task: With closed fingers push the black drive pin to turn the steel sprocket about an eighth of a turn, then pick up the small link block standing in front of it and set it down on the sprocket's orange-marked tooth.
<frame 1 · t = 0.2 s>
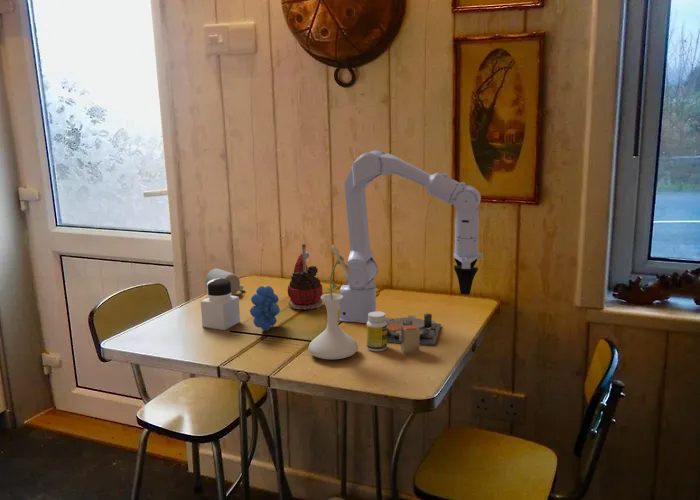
hand: (465, 289, 163), 10 cm above the table, tool pointing down, fingers open, 7 cm apart
grapes: (269, 331, 165), on the table
ceramic mug: (226, 294, 197), on the table
supplement bottle: (376, 348, 152), on the table
link block: (410, 352, 149), on the table
flower in vase: (334, 353, 150), on the table
medicine bottle: (221, 325, 170), on the table
cake: (305, 306, 184), on the table
sprocket: (407, 321, 161), point 3 cm above the table, hinge at 0.0°
base plate: (407, 333, 161), on the table
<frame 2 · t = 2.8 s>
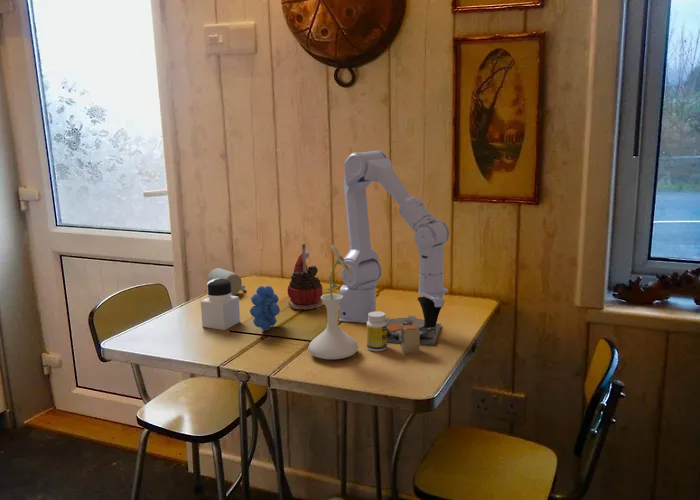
hand: (430, 326, 157), 3 cm above the table, tool pointing down, fingers closed, pressing on sprocket
sprocket: (407, 321, 161), point 3 cm above the table, hinge at 0.0°, touching gripper
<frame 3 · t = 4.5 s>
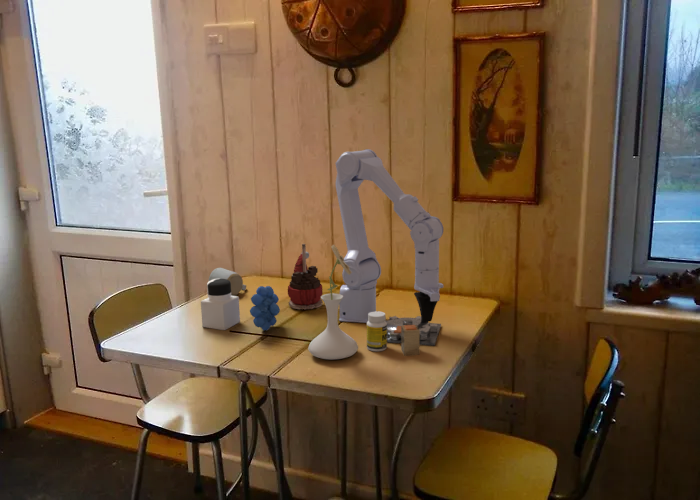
hand: (426, 321, 161), 3 cm above the table, tool pointing down, fingers closed
sprocket: (407, 321, 161), point 3 cm above the table, hinge at 41.0°, touching gripper
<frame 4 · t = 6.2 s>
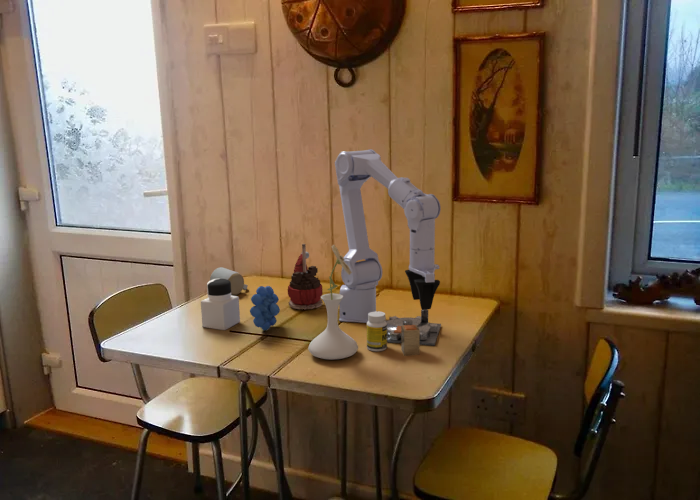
hand: (421, 304, 153), 9 cm above the table, tool pointing down, fingers open, 7 cm apart
sprocket: (407, 321, 161), point 3 cm above the table, hinge at 41.0°
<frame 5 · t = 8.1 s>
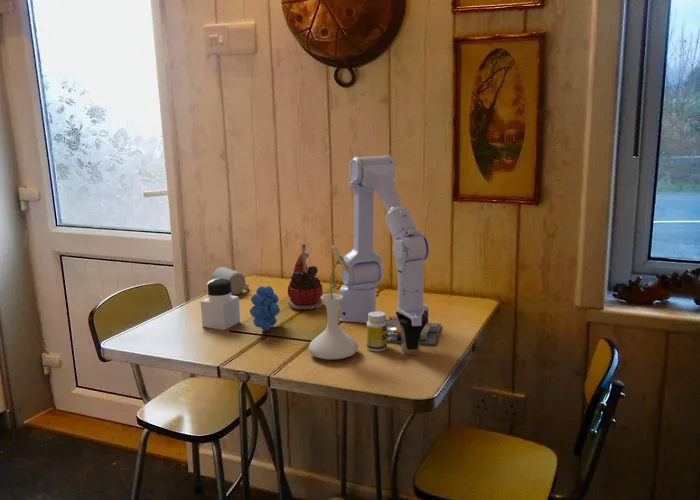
hand: (410, 345, 149), 2 cm above the table, tool pointing down, fingers closed on link block, 3 cm apart
link block: (410, 352, 149), on the table, touching gripper
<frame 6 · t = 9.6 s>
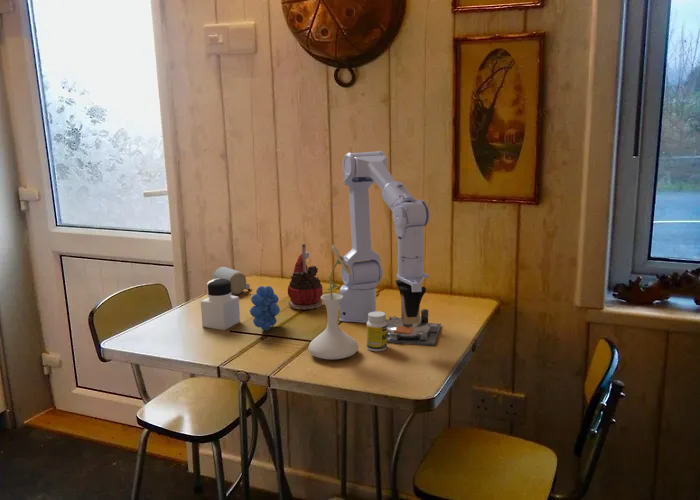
hand: (410, 313, 148), 9 cm above the table, tool pointing down, fingers closed on link block, 3 cm apart
link block: (410, 321, 148), point 7 cm above the table, touching gripper
when the fingers open (5 cm above the table, at t = 11.5 s): link block stays where it is, resting on sprocket.
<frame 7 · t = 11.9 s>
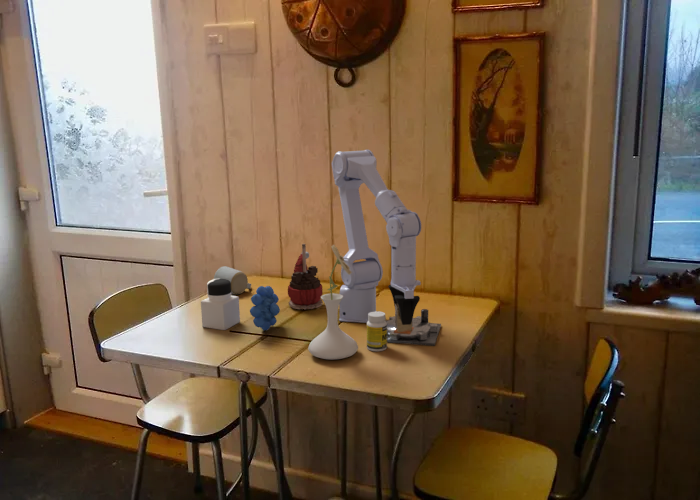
hand: (403, 318, 156), 5 cm above the table, tool pointing down, fingers open, 7 cm apart
link block: (403, 329, 157), point 2 cm above the table, touching sprocket
sprocket: (407, 321, 161), point 3 cm above the table, hinge at 41.0°, touching link block
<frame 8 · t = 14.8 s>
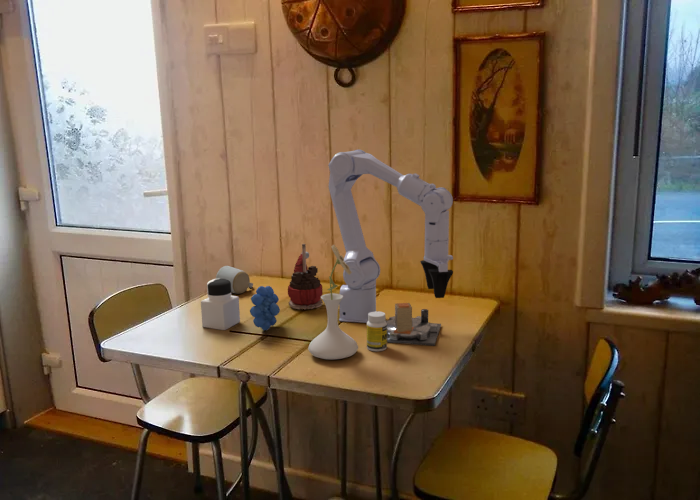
hand: (435, 293, 160), 10 cm above the table, tool pointing down, fingers open, 7 cm apart
at the end: sprocket at +41° (first picture: +0°); link block inside the target area (0.3 cm from its centre), point 2.5 cm above the table; link block tilted 0° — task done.
